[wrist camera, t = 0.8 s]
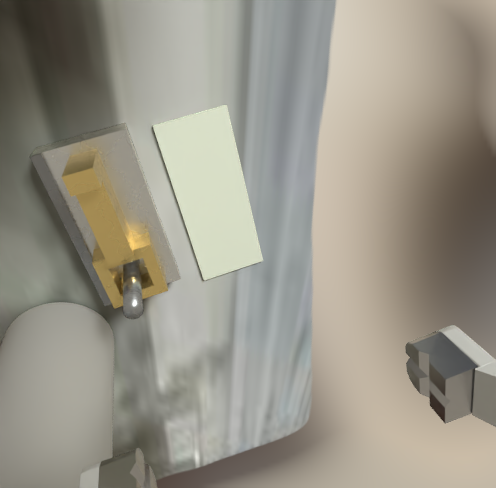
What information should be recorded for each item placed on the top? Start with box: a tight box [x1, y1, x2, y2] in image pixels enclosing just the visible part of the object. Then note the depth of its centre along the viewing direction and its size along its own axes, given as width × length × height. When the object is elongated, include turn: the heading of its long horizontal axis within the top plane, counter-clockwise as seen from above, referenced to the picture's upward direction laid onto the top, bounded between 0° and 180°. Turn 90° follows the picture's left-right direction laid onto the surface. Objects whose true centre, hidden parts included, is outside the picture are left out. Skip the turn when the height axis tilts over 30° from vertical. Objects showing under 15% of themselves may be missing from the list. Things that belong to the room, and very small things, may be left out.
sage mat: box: [152, 105, 263, 281], centre depth 48 cm, size 20×8×1 cm, turn 13°
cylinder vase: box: [0, 302, 114, 488], centre depth 41 cm, size 12×12×25 cm
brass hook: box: [62, 148, 168, 309], centre depth 41 cm, size 16×6×6 cm, turn 13°
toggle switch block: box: [30, 123, 181, 319], centre depth 41 cm, size 18×9×12 cm, turn 13°
